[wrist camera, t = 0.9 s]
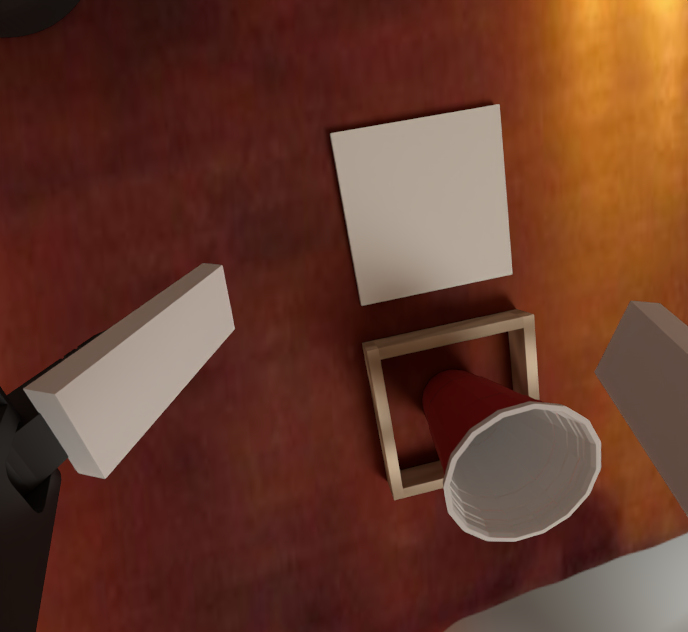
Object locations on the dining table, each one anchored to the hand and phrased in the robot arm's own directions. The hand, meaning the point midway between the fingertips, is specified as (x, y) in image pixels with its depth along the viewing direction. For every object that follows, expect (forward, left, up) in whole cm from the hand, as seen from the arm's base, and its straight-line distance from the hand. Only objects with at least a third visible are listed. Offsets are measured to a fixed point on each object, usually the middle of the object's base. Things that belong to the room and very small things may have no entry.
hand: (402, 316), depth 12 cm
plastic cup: (+14, +8, -19) cm, 25 cm away
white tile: (-4, +8, -18) cm, 20 cm away
